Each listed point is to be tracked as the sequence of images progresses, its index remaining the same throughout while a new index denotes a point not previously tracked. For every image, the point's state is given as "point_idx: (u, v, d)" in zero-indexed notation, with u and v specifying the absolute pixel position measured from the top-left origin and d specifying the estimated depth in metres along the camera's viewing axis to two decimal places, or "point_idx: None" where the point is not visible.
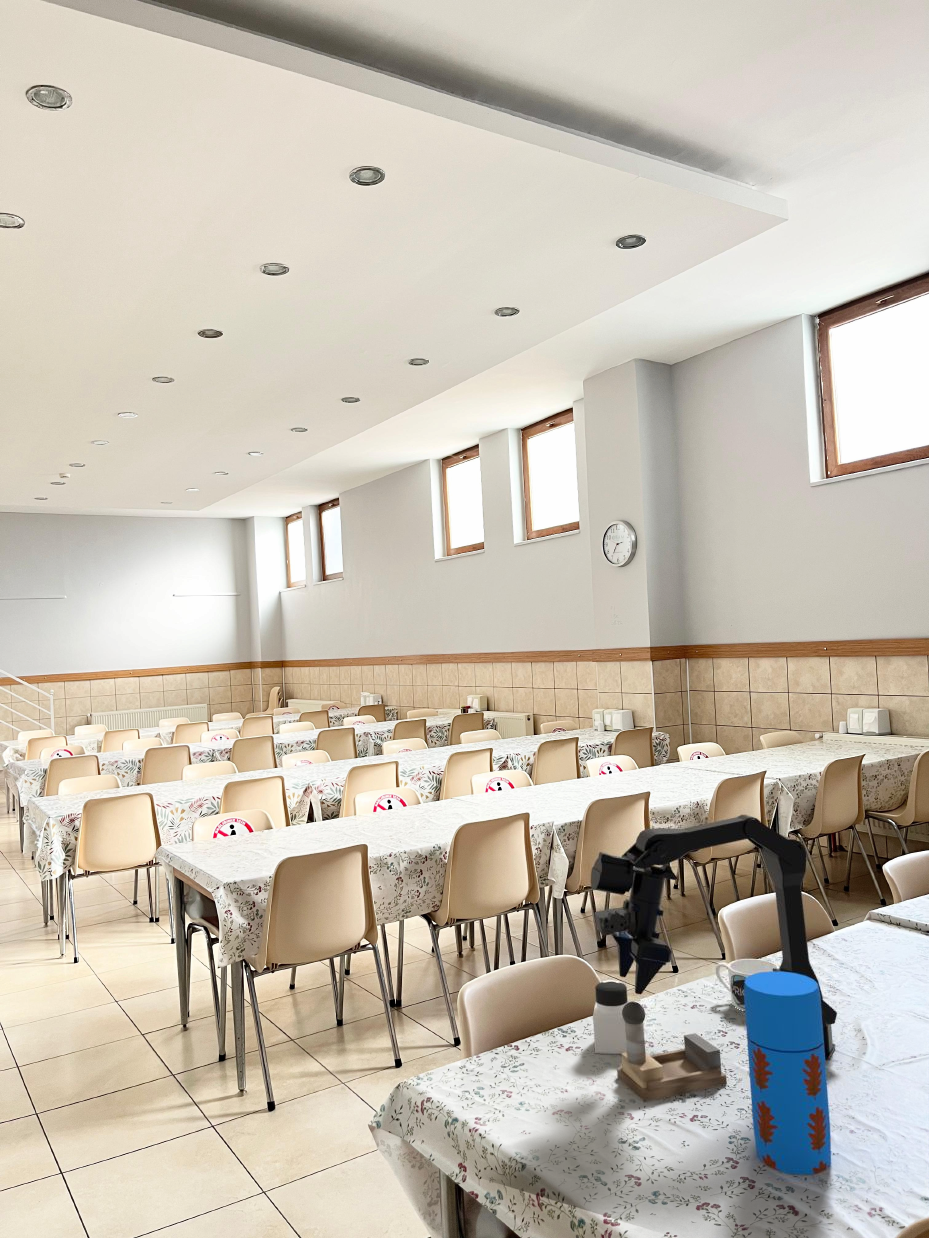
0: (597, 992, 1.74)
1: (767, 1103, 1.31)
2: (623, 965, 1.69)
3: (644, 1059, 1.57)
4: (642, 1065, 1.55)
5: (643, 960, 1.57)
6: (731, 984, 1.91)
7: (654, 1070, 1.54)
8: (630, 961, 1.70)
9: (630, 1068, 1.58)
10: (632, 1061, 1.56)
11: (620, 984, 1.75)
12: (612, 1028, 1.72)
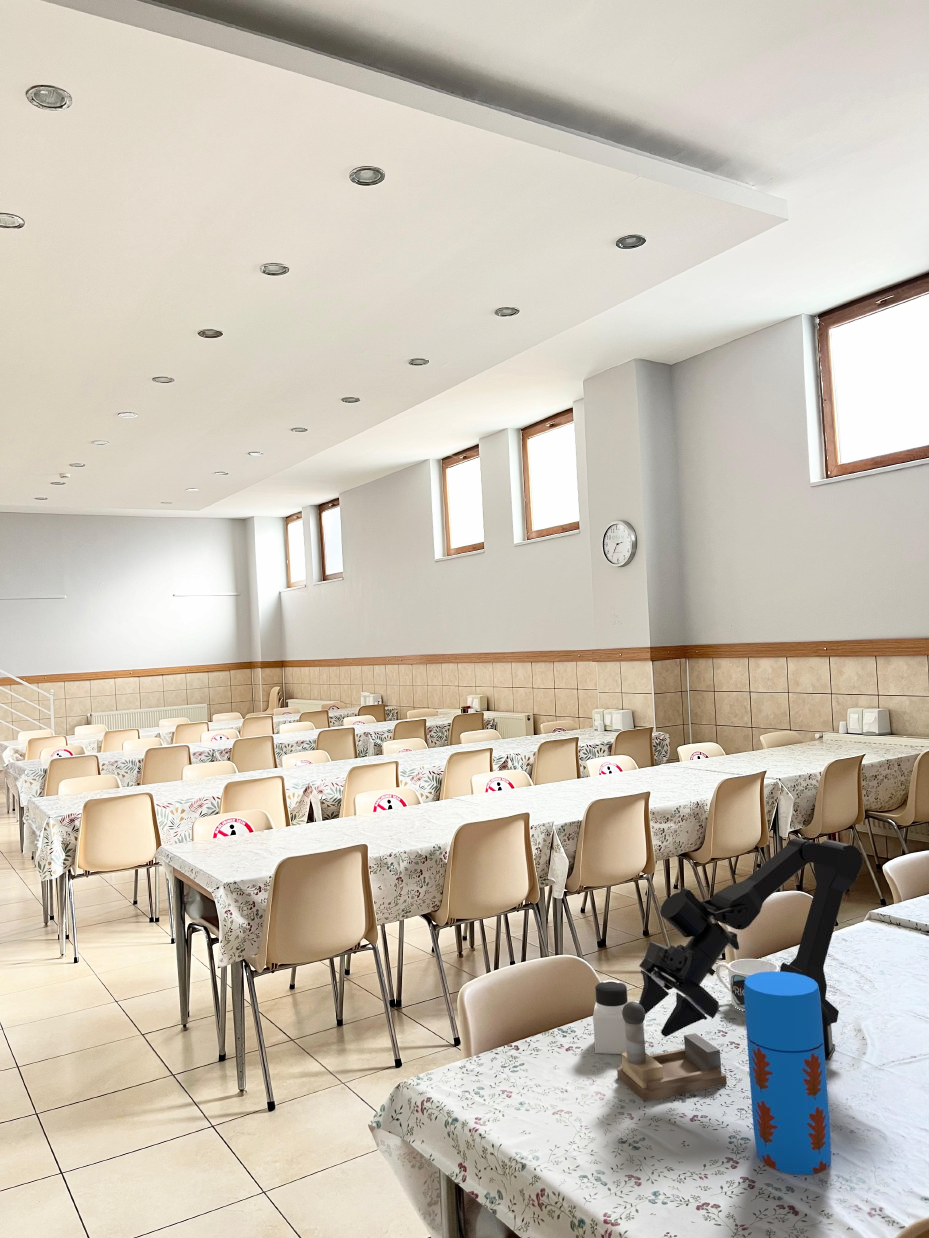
0: (597, 992, 1.74)
1: (767, 1103, 1.31)
2: (643, 1006, 1.64)
3: (644, 1059, 1.57)
4: (642, 1065, 1.55)
5: (690, 1004, 1.53)
6: (731, 984, 1.91)
7: (654, 1070, 1.54)
8: (650, 1006, 1.64)
9: (630, 1068, 1.58)
10: (632, 1061, 1.56)
11: (620, 984, 1.75)
12: (612, 1028, 1.72)
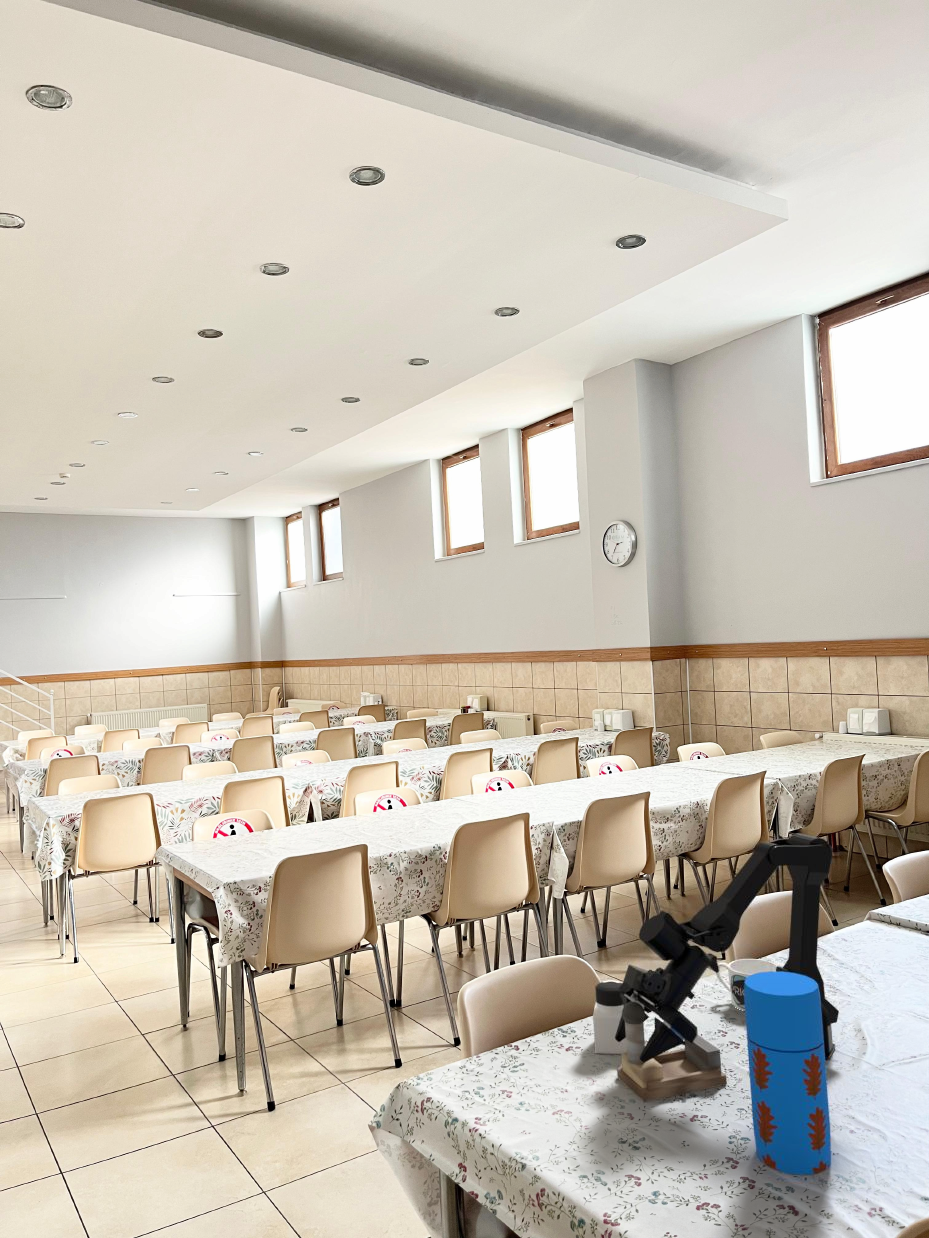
0: (597, 992, 1.74)
1: (767, 1103, 1.31)
2: (623, 1030, 1.62)
3: None
4: (642, 1065, 1.55)
5: (668, 1029, 1.51)
6: (731, 984, 1.91)
7: (654, 1070, 1.54)
8: None
9: (630, 1068, 1.58)
10: (632, 1061, 1.56)
11: (620, 984, 1.75)
12: (612, 1028, 1.72)
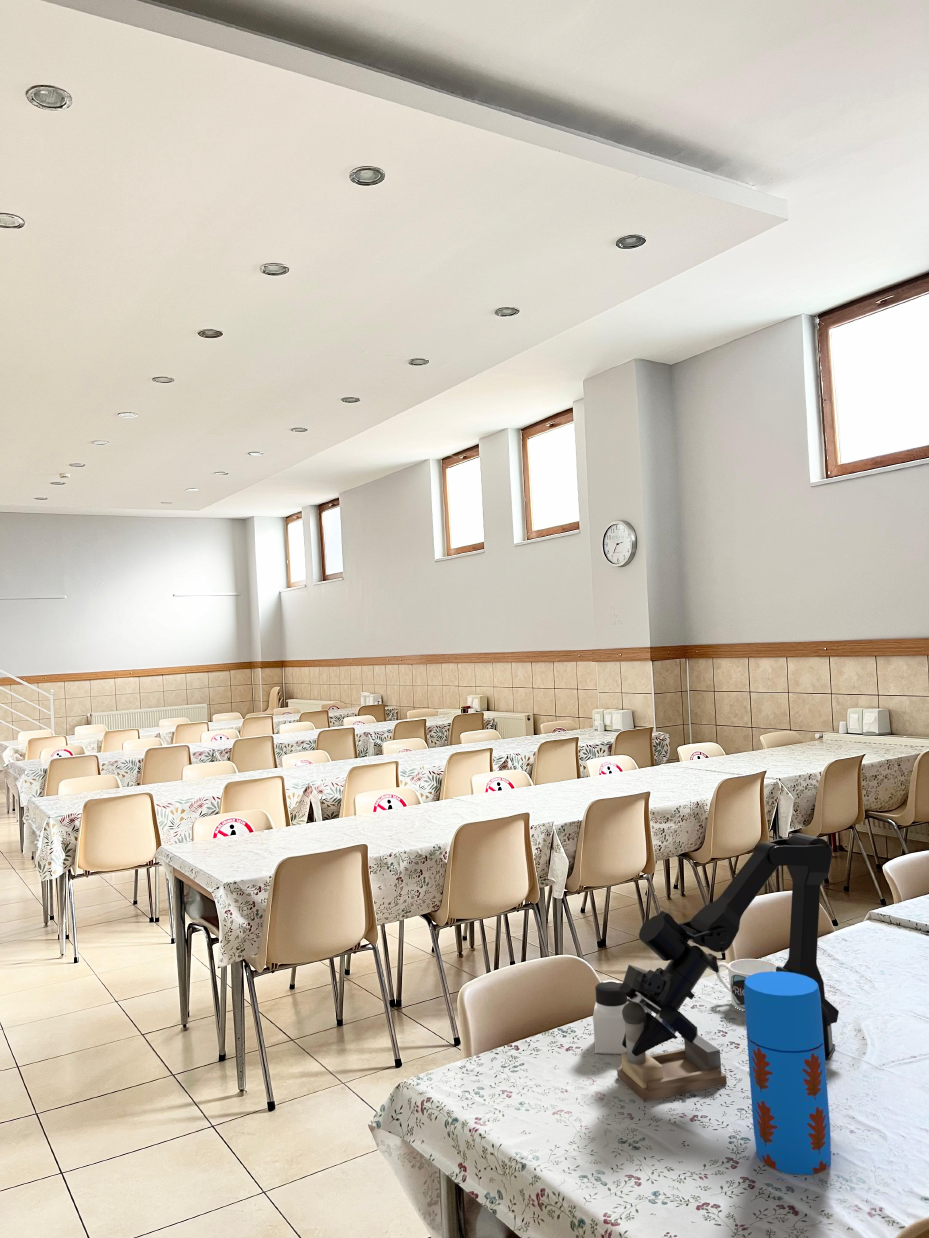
0: (597, 992, 1.74)
1: (767, 1103, 1.31)
2: None
3: (644, 1059, 1.57)
4: (642, 1065, 1.55)
5: (660, 1024, 1.54)
6: (731, 984, 1.91)
7: (654, 1070, 1.54)
8: None
9: (630, 1068, 1.58)
10: (632, 1061, 1.56)
11: (620, 984, 1.75)
12: (612, 1028, 1.72)
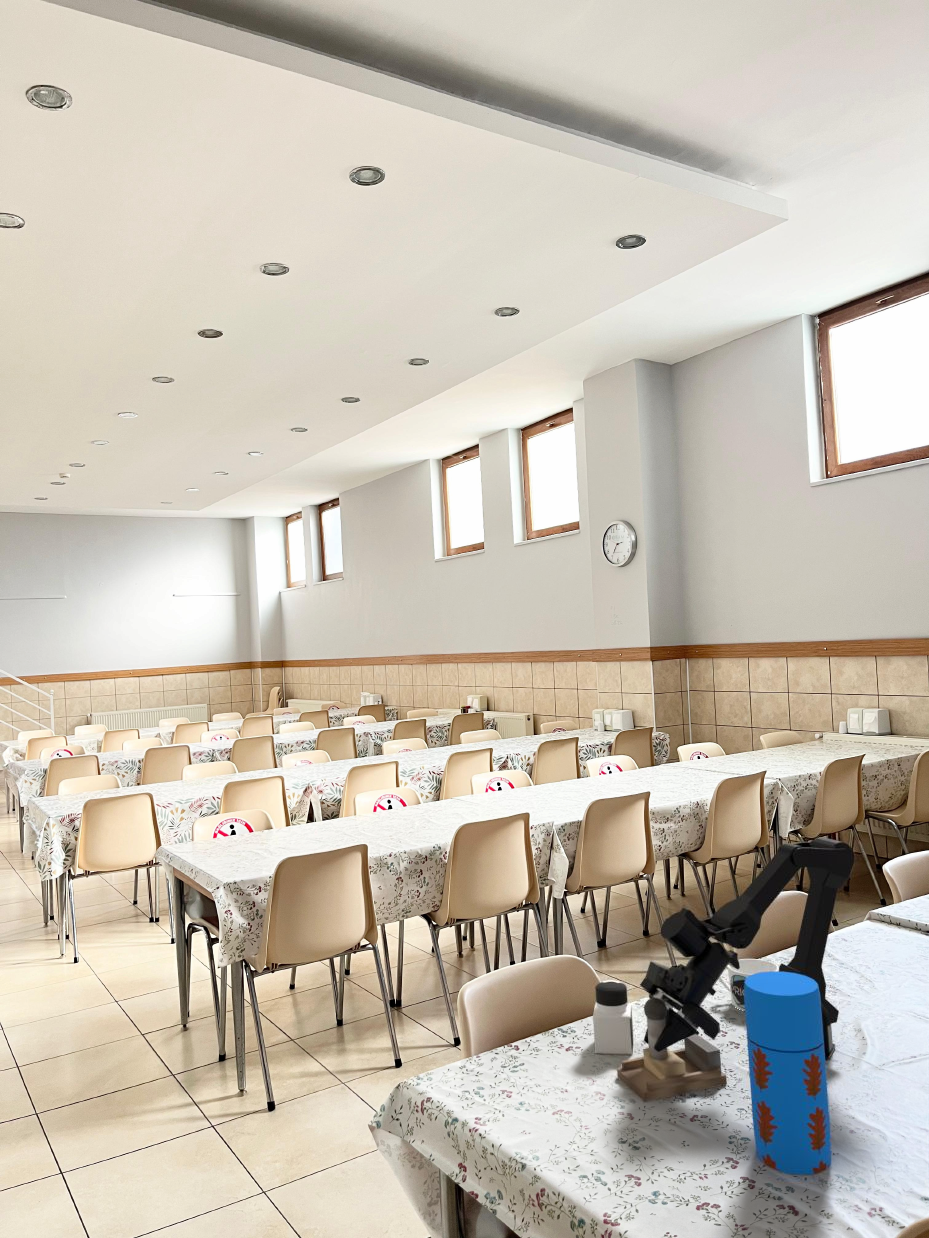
0: (597, 992, 1.74)
1: (767, 1103, 1.31)
2: None
3: (666, 1055, 1.58)
4: (664, 1061, 1.57)
5: (682, 1019, 1.55)
6: (731, 984, 1.91)
7: (677, 1066, 1.56)
8: None
9: (652, 1063, 1.59)
10: (654, 1057, 1.58)
11: (620, 984, 1.75)
12: (612, 1028, 1.72)
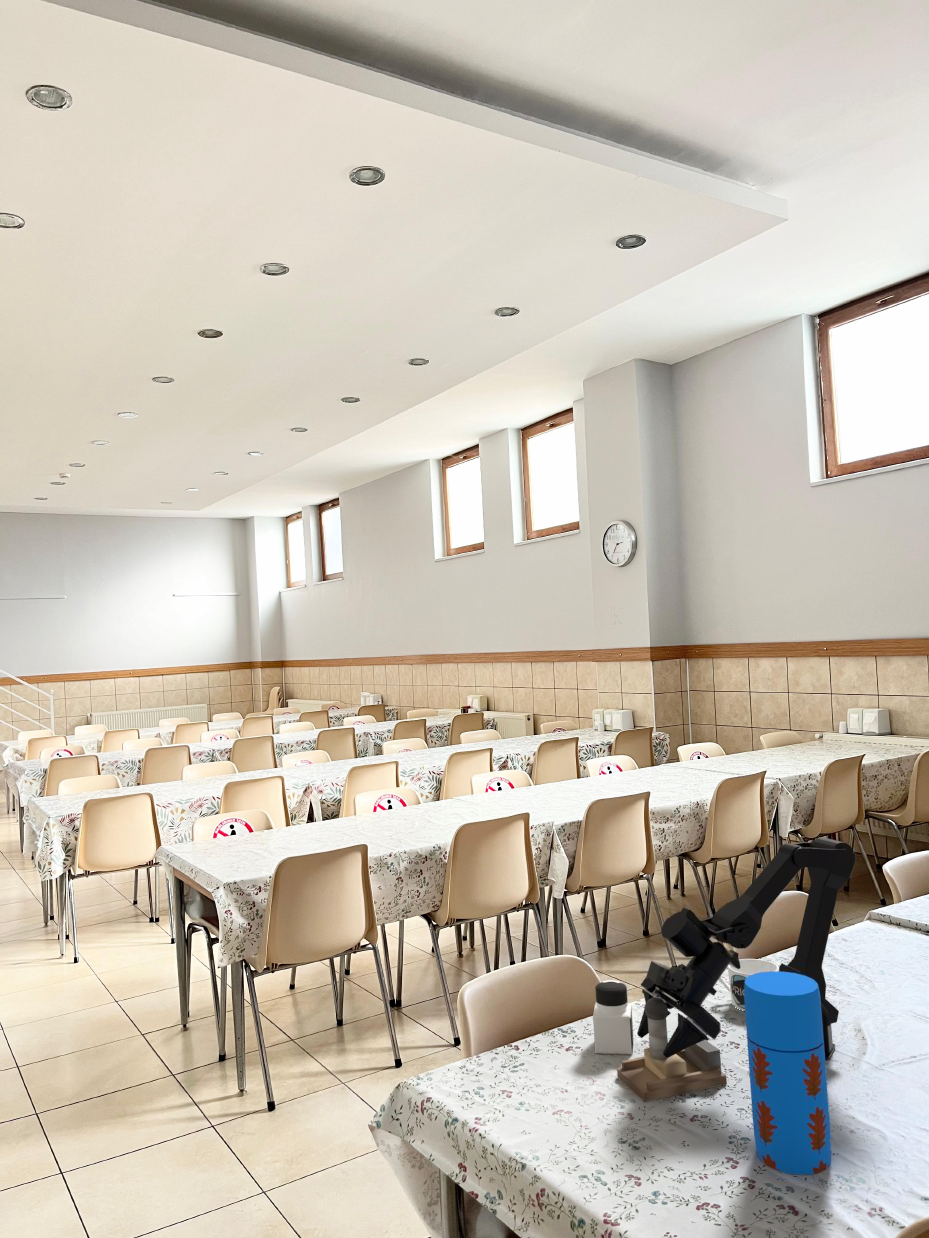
0: (597, 992, 1.74)
1: (767, 1103, 1.31)
2: (645, 1026, 1.63)
3: None
4: (665, 1061, 1.57)
5: (692, 1025, 1.52)
6: (731, 984, 1.91)
7: (677, 1066, 1.56)
8: None
9: (653, 1063, 1.59)
10: (655, 1056, 1.58)
11: (620, 984, 1.75)
12: (612, 1028, 1.72)
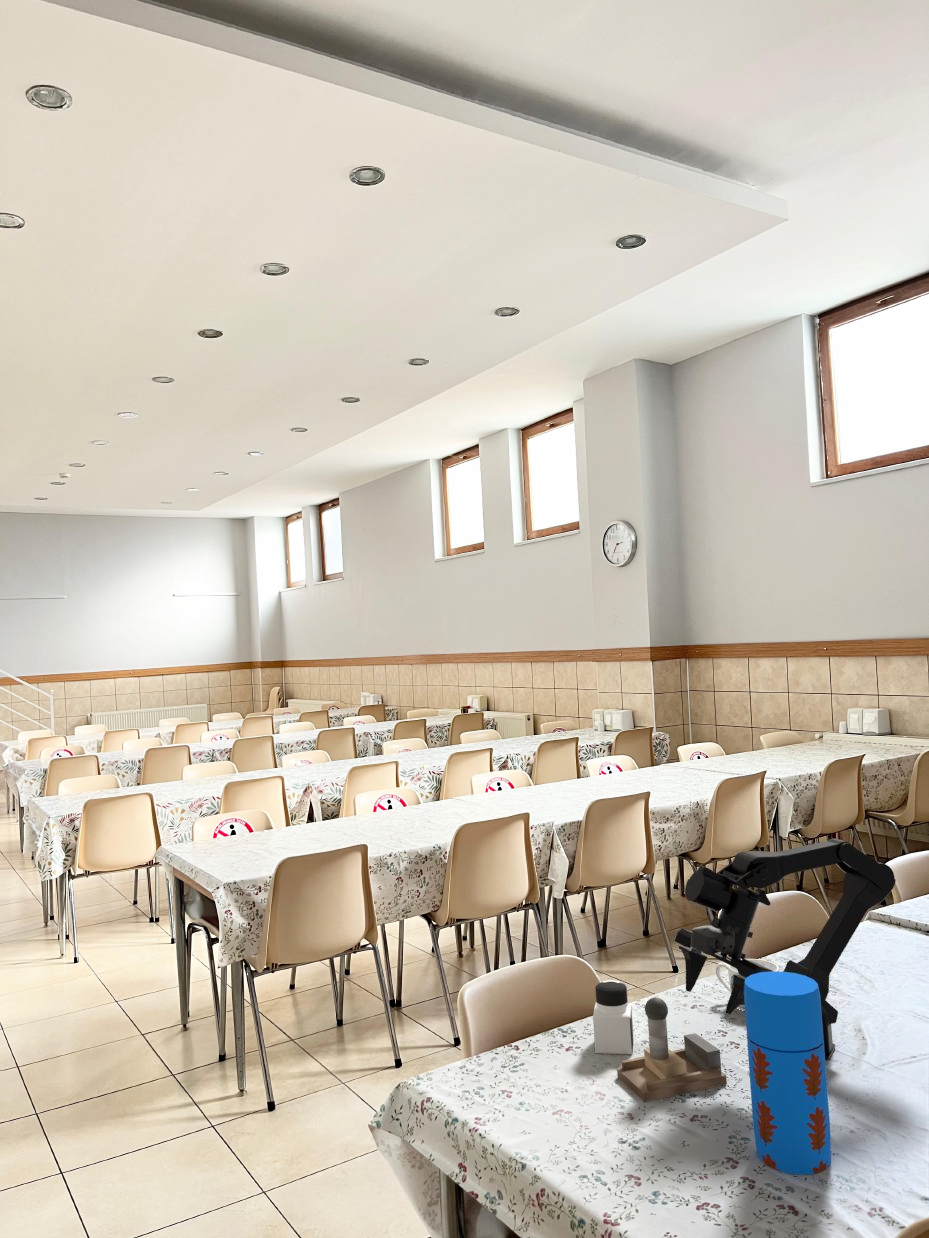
0: (597, 992, 1.74)
1: (767, 1103, 1.31)
2: (691, 980, 1.68)
3: (667, 1054, 1.58)
4: (665, 1061, 1.57)
5: None
6: (731, 984, 1.91)
7: (677, 1066, 1.56)
8: (696, 976, 1.69)
9: (653, 1063, 1.59)
10: (655, 1056, 1.58)
11: (620, 984, 1.75)
12: (612, 1028, 1.72)
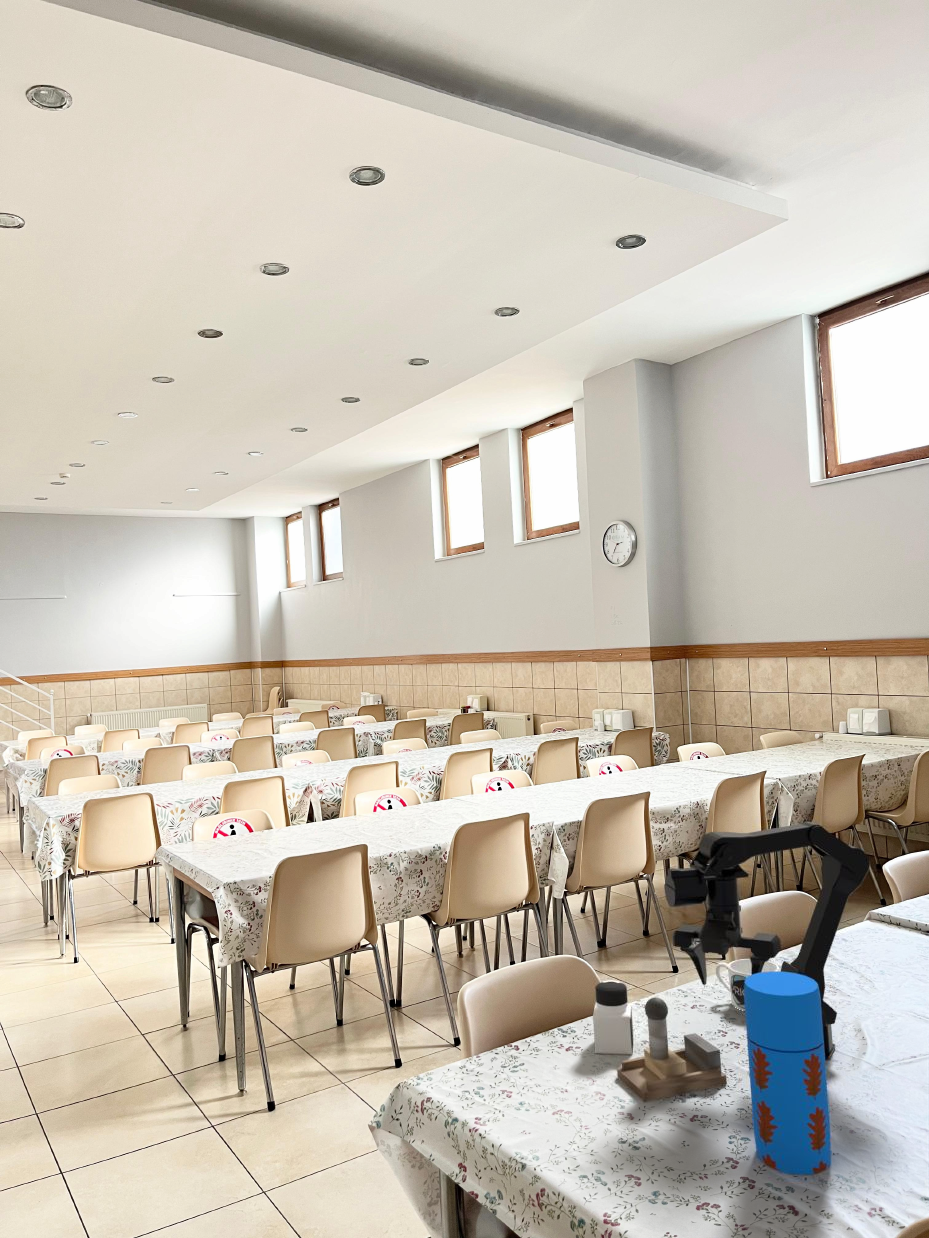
0: (597, 992, 1.74)
1: (767, 1103, 1.31)
2: (704, 973, 1.69)
3: (667, 1054, 1.58)
4: (665, 1061, 1.57)
5: (768, 958, 1.62)
6: (731, 984, 1.91)
7: (677, 1066, 1.56)
8: (704, 966, 1.71)
9: (653, 1063, 1.59)
10: (655, 1056, 1.58)
11: (620, 984, 1.75)
12: (612, 1028, 1.72)
